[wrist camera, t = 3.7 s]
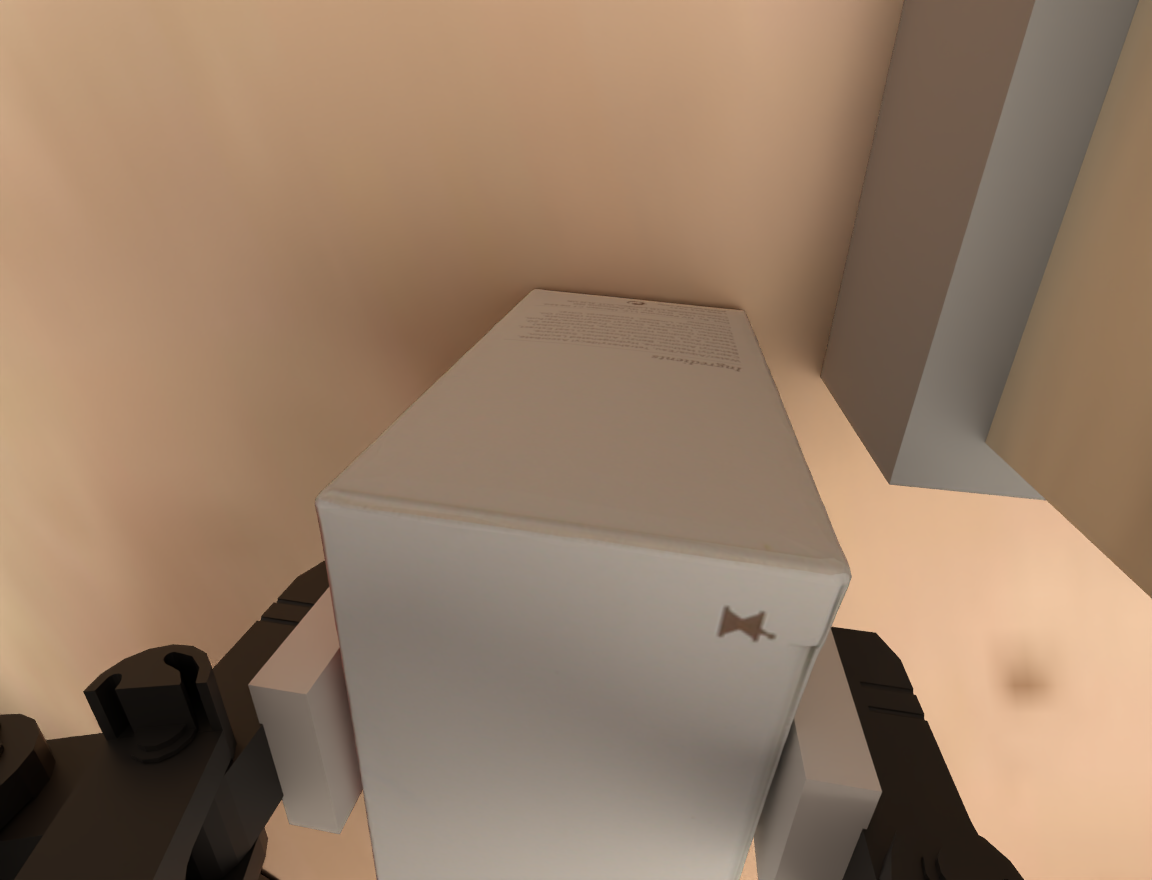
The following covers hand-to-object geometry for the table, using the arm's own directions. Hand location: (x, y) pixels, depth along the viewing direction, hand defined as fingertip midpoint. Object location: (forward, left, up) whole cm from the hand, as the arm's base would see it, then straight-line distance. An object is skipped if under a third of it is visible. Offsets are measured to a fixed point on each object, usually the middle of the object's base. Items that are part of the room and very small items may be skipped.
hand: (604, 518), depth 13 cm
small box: (0, 0, -5) cm, 5 cm away
